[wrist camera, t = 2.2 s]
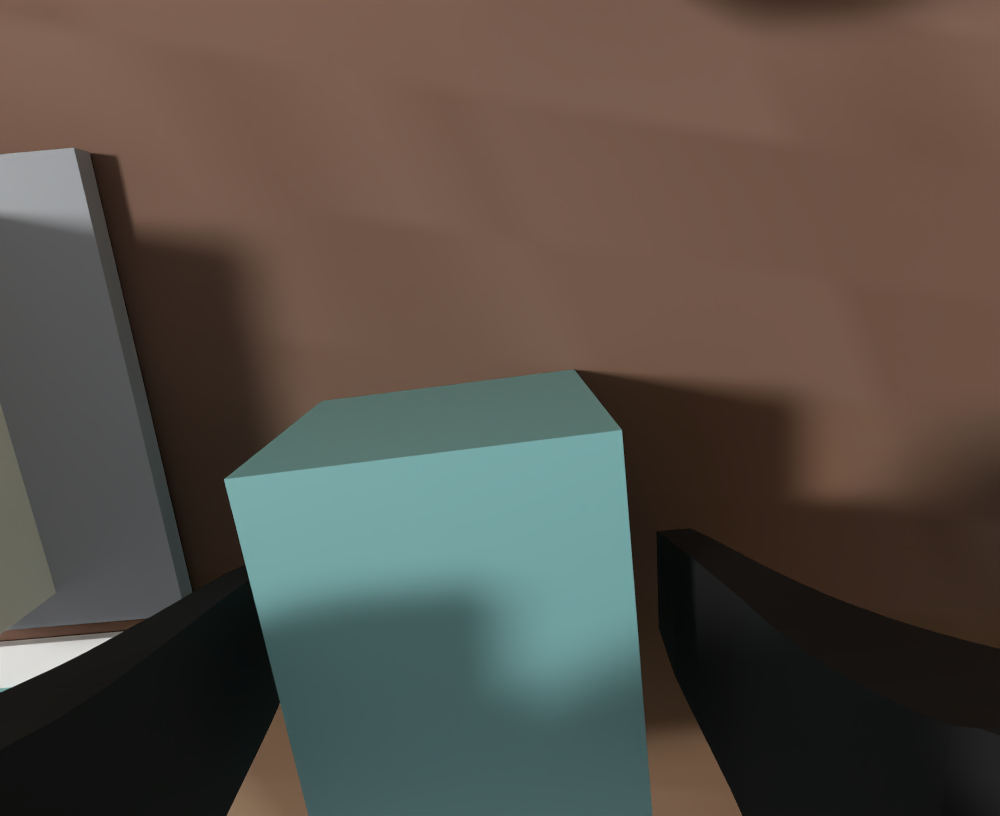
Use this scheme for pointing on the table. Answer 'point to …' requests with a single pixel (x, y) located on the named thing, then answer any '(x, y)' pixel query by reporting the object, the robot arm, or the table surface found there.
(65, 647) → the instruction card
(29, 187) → the build board
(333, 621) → the brick teal
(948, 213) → the table surface
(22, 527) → the brick cream
